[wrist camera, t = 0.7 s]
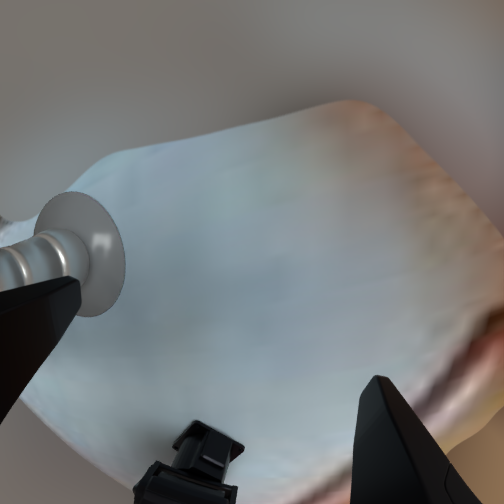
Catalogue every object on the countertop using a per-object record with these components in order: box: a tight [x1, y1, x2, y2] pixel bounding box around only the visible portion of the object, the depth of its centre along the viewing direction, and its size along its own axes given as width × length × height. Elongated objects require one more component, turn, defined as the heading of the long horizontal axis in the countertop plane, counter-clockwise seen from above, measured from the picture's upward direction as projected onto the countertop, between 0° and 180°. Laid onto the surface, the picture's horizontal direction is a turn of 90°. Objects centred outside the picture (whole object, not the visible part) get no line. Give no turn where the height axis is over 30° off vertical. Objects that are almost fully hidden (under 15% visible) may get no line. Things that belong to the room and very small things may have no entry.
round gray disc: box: [33, 192, 125, 317], centre depth 28 cm, size 13×13×1 cm
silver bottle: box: [0, 228, 89, 292], centre depth 18 cm, size 6×7×20 cm
